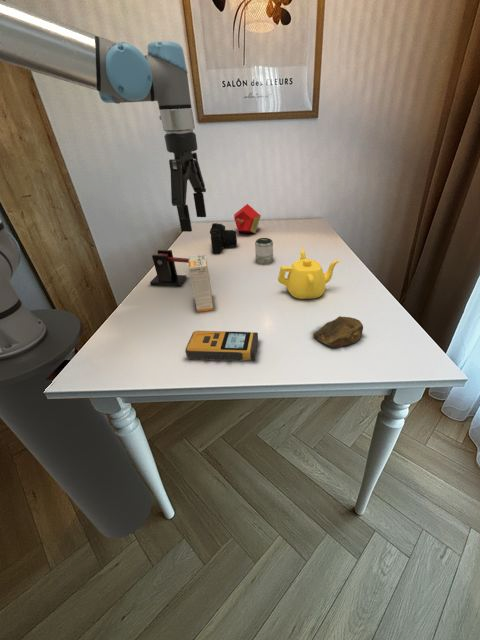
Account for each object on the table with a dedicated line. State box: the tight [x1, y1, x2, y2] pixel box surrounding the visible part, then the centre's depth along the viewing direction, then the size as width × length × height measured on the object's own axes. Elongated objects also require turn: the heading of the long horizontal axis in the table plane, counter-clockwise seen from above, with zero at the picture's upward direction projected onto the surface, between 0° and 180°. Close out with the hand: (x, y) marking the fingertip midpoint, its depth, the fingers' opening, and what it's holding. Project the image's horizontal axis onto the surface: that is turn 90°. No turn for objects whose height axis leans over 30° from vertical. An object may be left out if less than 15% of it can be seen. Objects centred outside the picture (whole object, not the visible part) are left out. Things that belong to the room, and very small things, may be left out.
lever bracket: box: [149, 249, 187, 288], centre depth 99 cm, size 10×6×10 cm, turn 82°
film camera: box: [209, 222, 238, 255], centre depth 122 cm, size 15×10×9 cm, turn 1°
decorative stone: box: [312, 315, 364, 349], centre depth 74 cm, size 10×9×4 cm
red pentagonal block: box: [233, 203, 262, 234], centre depth 134 cm, size 12×12×15 cm
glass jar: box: [254, 237, 274, 265], centre depth 110 cm, size 6×6×8 cm
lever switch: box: [157, 253, 189, 264], centre depth 96 cm, size 14×5×2 cm, turn 82°
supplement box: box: [188, 254, 214, 313], centre depth 85 cm, size 8×5×13 cm, turn 11°
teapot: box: [277, 248, 341, 300], centre depth 91 cm, size 14×13×10 cm
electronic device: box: [185, 330, 259, 362], centre depth 71 cm, size 8×16×3 cm, turn 85°
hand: (194, 223), depth 88 cm, fingers open, 12 cm apart
